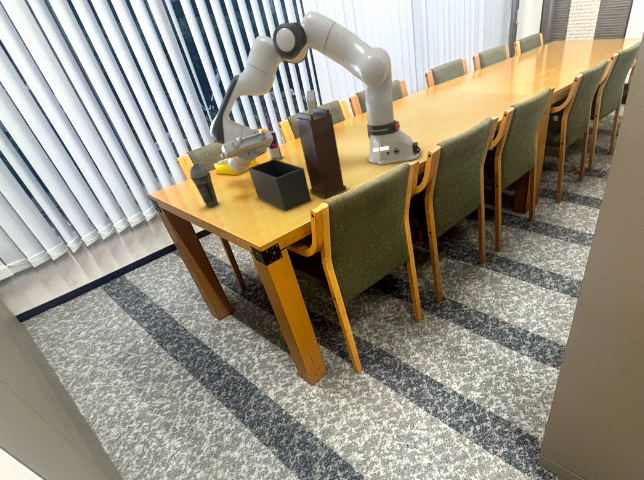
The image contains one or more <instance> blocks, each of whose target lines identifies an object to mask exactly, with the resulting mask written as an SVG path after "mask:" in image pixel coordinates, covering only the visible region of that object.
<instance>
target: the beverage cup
mask: <svg viewBox="0 0 644 480" xmlns="http://www.w3.org/2000/svg"><path fill="white" fill-rule="evenodd" d="M189 153H190V155H191V158H192V160H193V163H194V165H193V166H191V167H190V169H189V176H190V179H191V180H192V182H193V184H194V185H195V187H196V189H197V191H198V193H199V195H200V197H201V198H202V201H203V203H204V204H205V205H206V207H207V208H209V209H210V208H214V207H217V206H218V205H219V202H218V198H217V193H216V191H215V188H214V184H213V182H212V176H211V172H210V171H209V169H208V168H207V167H206V166H205V165H203V164H200V163H197V162H196V159H195V156H194V155H193V152H192V151H189Z"/></svg>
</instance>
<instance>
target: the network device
mask: <svg viewBox="0 0 644 480" xmlns="http://www.w3.org/2000/svg"><path fill="white" fill-rule="evenodd" d="M305 97H306V104H307V109H308V114H312V113H313V111H312V108H318V105H317V100H316V95H315V90H314V89H312V90H306V96H305Z"/></svg>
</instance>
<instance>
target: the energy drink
mask: <svg viewBox="0 0 644 480" xmlns="http://www.w3.org/2000/svg"><path fill="white" fill-rule="evenodd" d="M269 131H270V132H271V134H272V136H273V141H272V143H271V144H270V146H269V147H268V148H267V150H268V153H269V156H270V159H271V160H273V159H276V160H279V161H280V160H281V159H282V158H283V155H282V152H281V147H280V145H279V142H278V137H277V133H276V131H275V130H269Z"/></svg>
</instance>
